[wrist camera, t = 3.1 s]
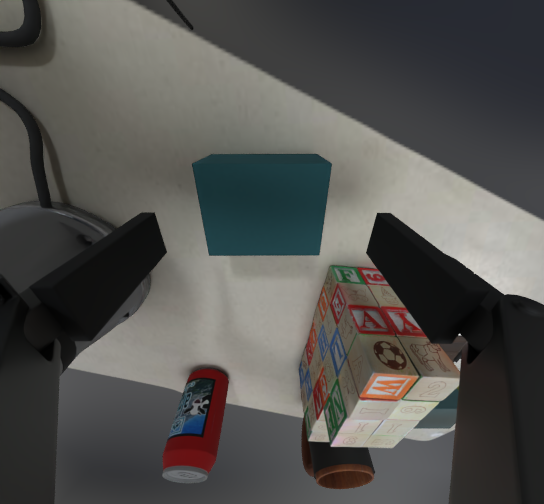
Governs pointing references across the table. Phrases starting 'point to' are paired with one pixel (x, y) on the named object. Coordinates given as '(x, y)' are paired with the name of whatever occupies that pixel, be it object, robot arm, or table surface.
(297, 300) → the table surface
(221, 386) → the beverage can
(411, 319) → the stack of blocks
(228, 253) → the block
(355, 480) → the mug
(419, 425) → the teal lidded box
